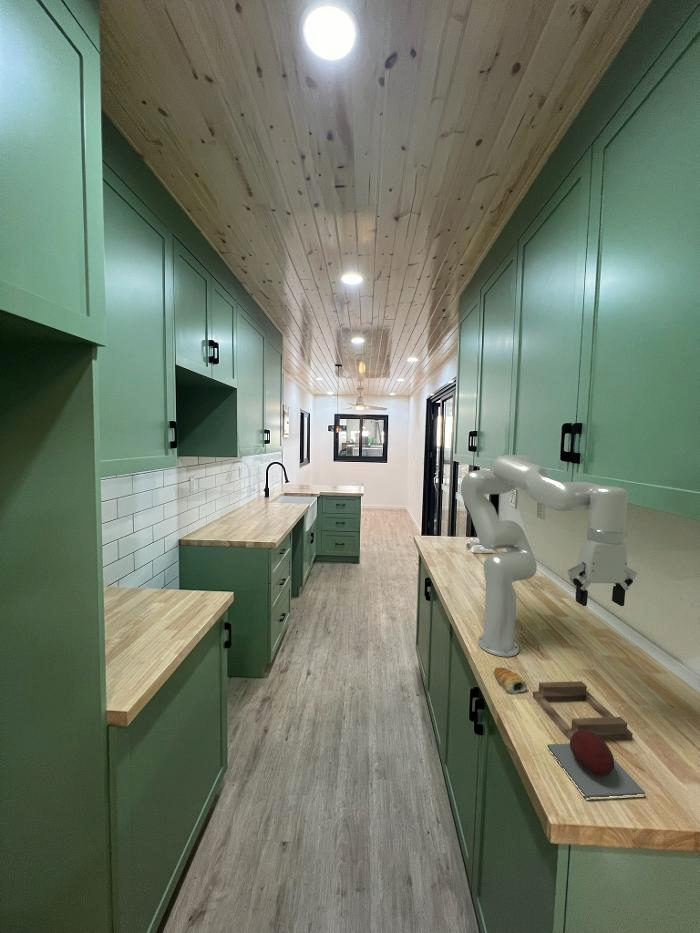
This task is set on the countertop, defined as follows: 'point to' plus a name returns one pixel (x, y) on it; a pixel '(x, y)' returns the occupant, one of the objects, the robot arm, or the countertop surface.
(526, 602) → the countertop surface
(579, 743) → the potato
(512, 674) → the pastry
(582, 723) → the holder
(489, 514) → the robot arm
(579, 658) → the countertop surface
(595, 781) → the mat
